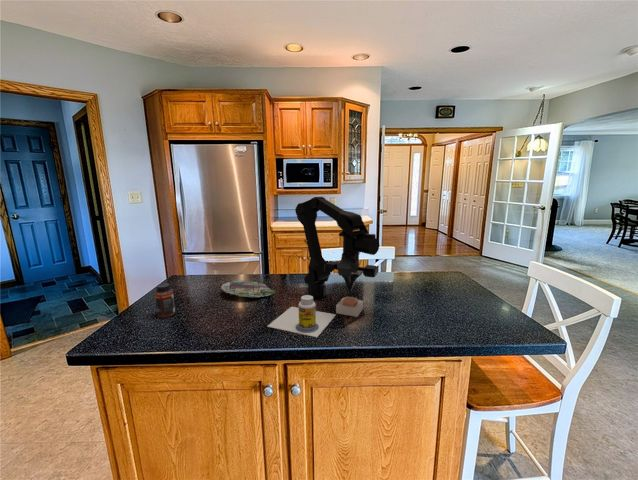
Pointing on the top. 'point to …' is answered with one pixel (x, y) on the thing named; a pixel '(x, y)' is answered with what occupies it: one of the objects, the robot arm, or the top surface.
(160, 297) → the supplement bottle
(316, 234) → the robot arm
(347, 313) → the button housing
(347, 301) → the button
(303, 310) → the supplement bottle
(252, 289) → the city model
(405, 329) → the top surface
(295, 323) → the drawing paper
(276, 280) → the top surface
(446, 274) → the top surface
